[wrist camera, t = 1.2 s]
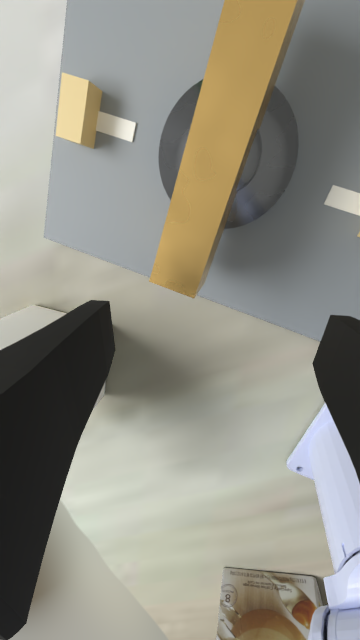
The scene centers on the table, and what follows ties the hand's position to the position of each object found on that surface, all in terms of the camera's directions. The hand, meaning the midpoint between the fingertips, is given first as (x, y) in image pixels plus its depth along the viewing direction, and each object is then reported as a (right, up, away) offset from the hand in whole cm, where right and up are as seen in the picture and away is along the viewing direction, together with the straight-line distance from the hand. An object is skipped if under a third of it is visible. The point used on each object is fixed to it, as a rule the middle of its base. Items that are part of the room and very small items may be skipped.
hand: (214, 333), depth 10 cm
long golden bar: (+1, +9, +5) cm, 10 cm away
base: (+2, +10, +7) cm, 12 cm away
